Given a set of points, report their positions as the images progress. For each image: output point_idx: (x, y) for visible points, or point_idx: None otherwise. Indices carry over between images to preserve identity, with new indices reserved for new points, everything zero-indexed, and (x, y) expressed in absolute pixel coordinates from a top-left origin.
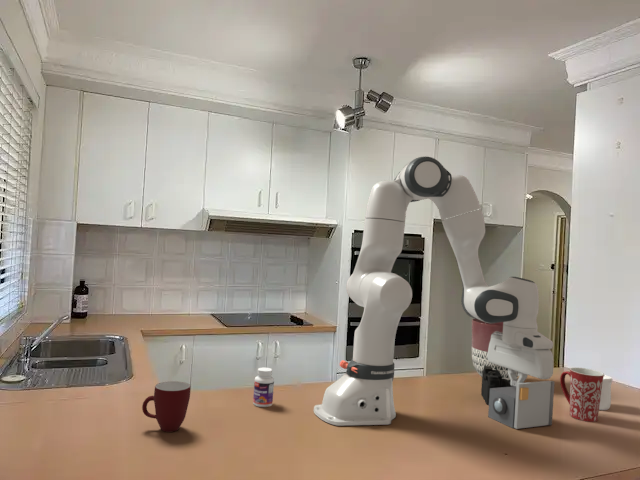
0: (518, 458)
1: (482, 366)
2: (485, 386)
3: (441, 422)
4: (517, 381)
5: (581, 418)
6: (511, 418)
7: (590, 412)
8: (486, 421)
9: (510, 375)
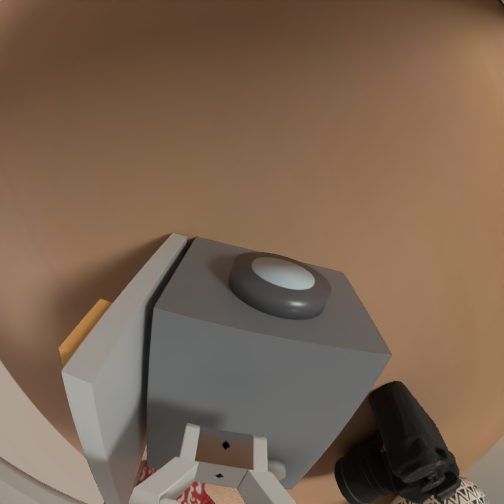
0: (44, 8)
1: (457, 490)
2: (433, 433)
3: (405, 25)
4: (191, 461)
5: None
6: (199, 253)
7: (141, 478)
8: (316, 209)
9: (269, 496)
